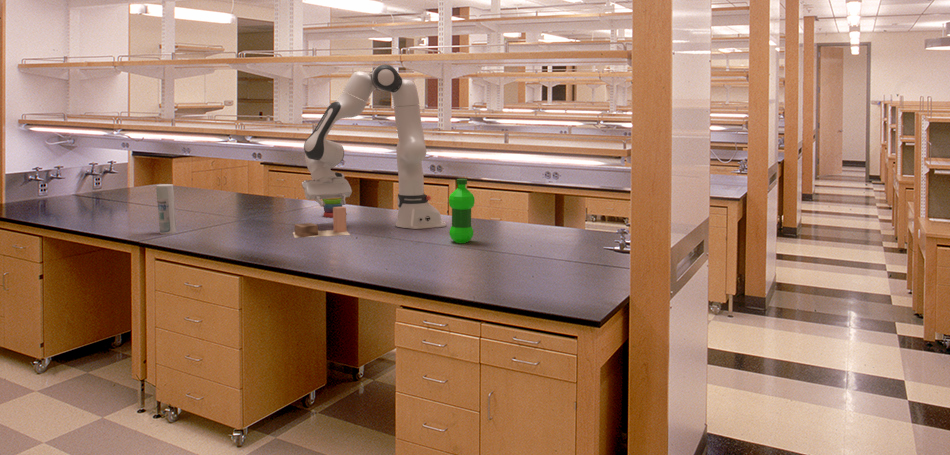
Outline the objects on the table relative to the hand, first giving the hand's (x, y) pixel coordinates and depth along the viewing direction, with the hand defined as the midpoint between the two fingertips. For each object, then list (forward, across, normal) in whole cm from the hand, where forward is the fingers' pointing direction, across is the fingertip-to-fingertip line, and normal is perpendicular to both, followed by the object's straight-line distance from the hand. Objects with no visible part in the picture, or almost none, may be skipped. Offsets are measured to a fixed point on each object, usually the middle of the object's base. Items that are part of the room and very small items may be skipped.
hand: (333, 205), depth 295 cm
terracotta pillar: (+11, 0, +3) cm, 12 cm away
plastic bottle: (+41, +33, -25) cm, 58 cm away
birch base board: (+12, -8, +4) cm, 15 cm away
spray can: (-16, -58, +33) cm, 69 cm away
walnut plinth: (+11, -14, +4) cm, 18 cm away
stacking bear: (-18, +17, +35) cm, 43 cm away
